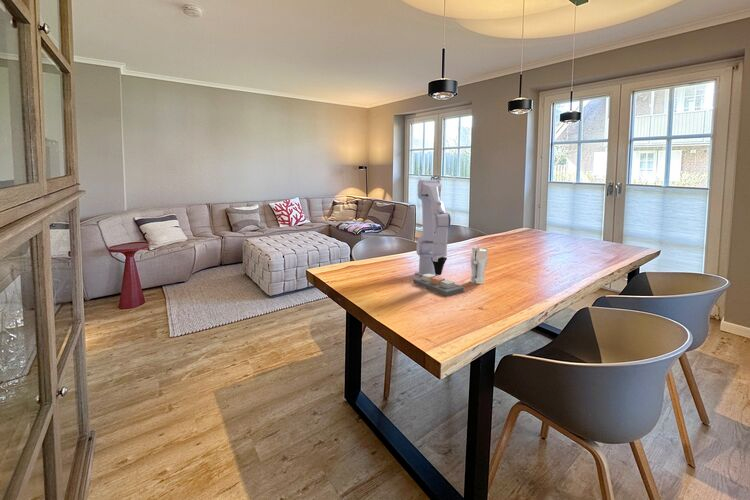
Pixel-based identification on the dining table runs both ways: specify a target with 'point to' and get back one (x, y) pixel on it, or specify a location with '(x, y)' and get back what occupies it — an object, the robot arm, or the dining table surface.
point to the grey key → (447, 284)
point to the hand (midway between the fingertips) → (438, 274)
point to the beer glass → (478, 265)
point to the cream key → (427, 277)
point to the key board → (438, 287)
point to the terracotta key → (437, 280)
